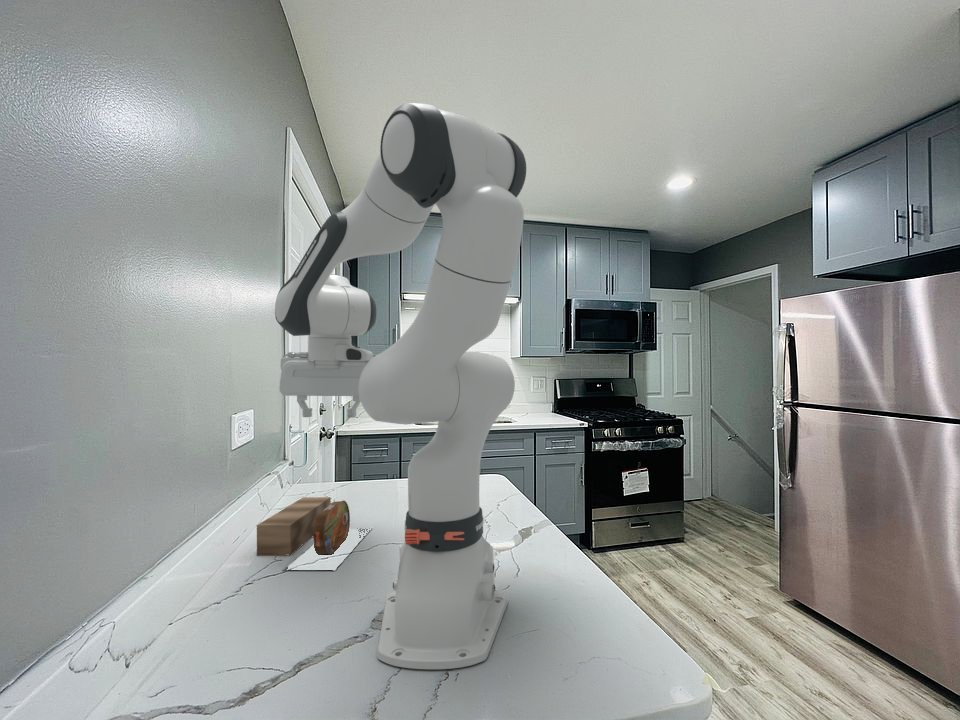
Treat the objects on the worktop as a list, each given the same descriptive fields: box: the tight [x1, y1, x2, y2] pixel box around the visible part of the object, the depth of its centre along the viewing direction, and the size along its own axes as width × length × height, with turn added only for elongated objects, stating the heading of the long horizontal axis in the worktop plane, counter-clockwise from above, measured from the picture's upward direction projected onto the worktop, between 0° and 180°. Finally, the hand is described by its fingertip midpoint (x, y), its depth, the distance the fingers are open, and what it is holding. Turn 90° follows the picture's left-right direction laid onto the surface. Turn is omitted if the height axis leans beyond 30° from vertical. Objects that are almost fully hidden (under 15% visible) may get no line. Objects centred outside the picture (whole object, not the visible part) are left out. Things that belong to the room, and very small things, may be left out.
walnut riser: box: [256, 496, 332, 556], centre depth 98 cm, size 20×7×6 cm, turn 176°
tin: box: [313, 500, 351, 555], centre depth 91 cm, size 15×3×8 cm, turn 179°
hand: (329, 417), depth 93 cm, fingers open, 8 cm apart
